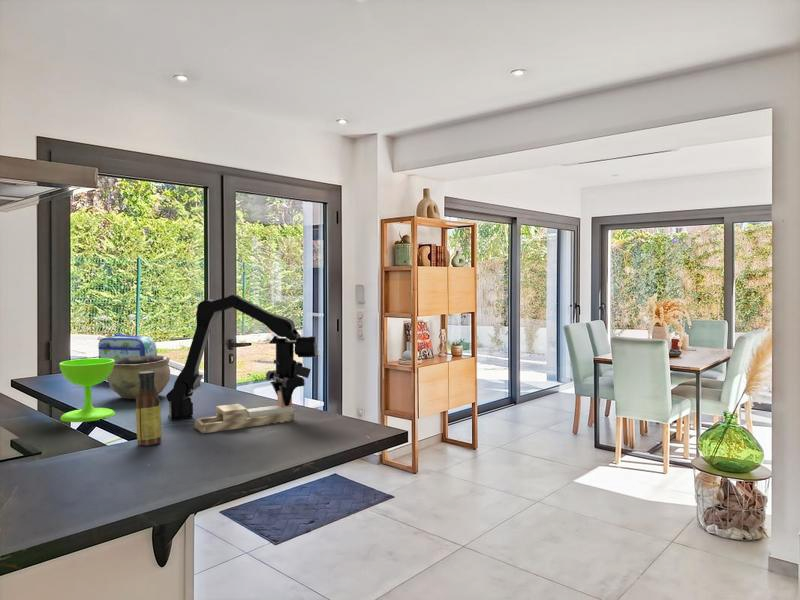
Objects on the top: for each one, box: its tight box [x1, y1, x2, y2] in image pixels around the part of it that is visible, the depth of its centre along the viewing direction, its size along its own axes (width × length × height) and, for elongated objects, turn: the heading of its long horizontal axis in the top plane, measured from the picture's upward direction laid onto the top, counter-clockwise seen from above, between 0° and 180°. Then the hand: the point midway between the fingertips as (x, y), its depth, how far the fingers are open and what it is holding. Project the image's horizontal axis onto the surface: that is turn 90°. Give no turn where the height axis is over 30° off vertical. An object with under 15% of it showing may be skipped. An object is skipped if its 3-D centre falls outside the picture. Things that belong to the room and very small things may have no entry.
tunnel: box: [194, 403, 295, 434], centre depth 180 cm, size 29×8×6 cm, turn 123°
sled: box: [247, 390, 293, 418], centre depth 184 cm, size 14×4×8 cm, turn 123°
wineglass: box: [58, 357, 116, 423], centre depth 188 cm, size 16×16×18 cm
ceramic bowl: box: [107, 354, 171, 400], centre depth 217 cm, size 22×22×15 cm
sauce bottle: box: [135, 371, 163, 447], centre depth 157 cm, size 7×6×20 cm
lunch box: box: [97, 333, 158, 381], centre depth 249 cm, size 26×11×21 cm, turn 69°
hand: (284, 404), depth 187 cm, fingers open, 4 cm apart
